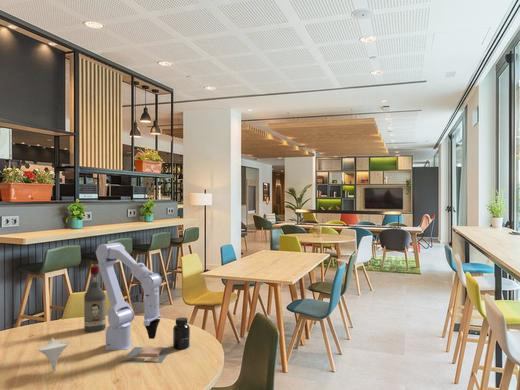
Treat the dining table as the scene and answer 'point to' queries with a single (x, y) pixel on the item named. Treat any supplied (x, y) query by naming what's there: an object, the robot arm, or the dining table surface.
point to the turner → (140, 359)
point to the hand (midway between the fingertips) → (152, 338)
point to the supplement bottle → (181, 334)
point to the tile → (150, 351)
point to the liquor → (94, 305)
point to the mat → (135, 354)
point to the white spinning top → (53, 351)
